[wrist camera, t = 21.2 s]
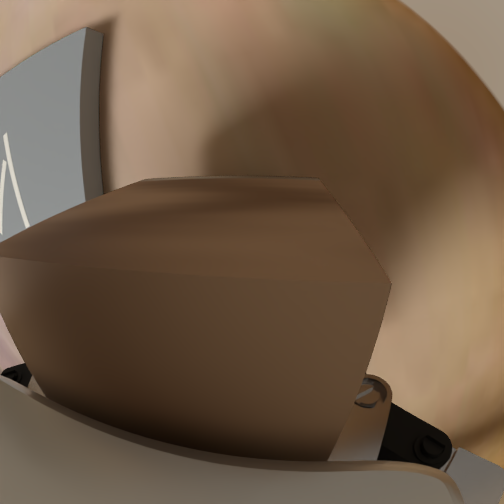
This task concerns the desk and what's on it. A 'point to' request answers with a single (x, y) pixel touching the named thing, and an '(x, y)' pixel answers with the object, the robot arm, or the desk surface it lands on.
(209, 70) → the desk surface
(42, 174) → the slate board
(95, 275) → the block
